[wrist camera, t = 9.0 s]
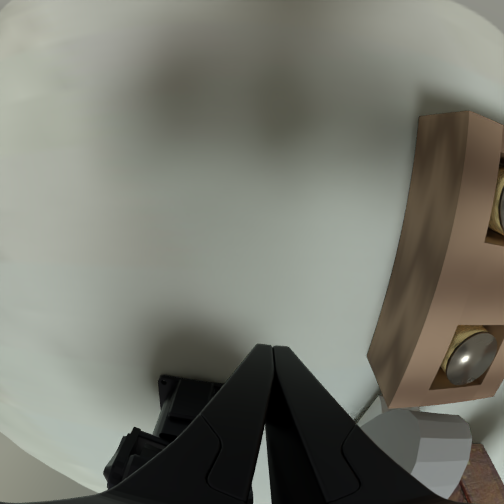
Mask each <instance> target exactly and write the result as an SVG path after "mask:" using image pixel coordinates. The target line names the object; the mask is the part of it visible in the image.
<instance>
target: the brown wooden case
mask: <svg viewBox="0 0 504 504" xmlns="http://www.w3.org/2000/svg"><path fill="white" fill-rule="evenodd" d="M448 500H452V501H456V502H465V503H476V504H504V484H503V482H502V480H501V478H500V476H499V474H498V472H497V470H496V469H495V467H494V465H493V463H492V461H491V459H490V457H489V455H488V454H487V452H486V450H485V448H484V446H483V445H482V444H472V445H471V451H470V457H469V461H468V463H467V466H466V468H465V470H464V473H463V475H462V477H461V479H460V481H459V484H458V485H457V487H456V488H455V490H454V491H453V493H452V494H451V495H450V497H449V498H448Z"/></svg>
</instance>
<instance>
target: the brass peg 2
mask: <svg viewBox="0 0 504 504" xmlns="http://www.w3.org/2000/svg"><path fill="white" fill-rule="evenodd" d="M488 228H490V229H492V230H494V231H496V232H498V233H500V234H502V235H504V167H500V166H499V169H498V176H497V183H496V189H495V195H494V200H493V206H492V211H491V215H490V220H489V225H488Z"/></svg>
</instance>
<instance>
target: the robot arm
mask: <svg viewBox="0 0 504 504" xmlns="http://www.w3.org/2000/svg"><path fill="white" fill-rule="evenodd" d="M163 380H165V381H166V382H165V381H163ZM158 386H159V397H160V407H161V412H160V415H159V418H158V421H157V424H156V426H155V429H154V432H153V435H152V434H149V433H146V432H143V431H141V429H139V428H136V427H134V428H133V430H132V432H131V434H129V433H128V435H127V436H123V438H122V440H121V442H120V445H119V447H118V449H117V451H116V453H115V454H114V456H113V457H112V459H111V460H110V461H109V463H108V464H107V465H106V467H105V469H104V472H103V475H104V477H105V478H106V480H107V482H108V483H107V488H108V490H106V491H104V492H102V493H98V494H96V495H90V496H84V497H78V498H70V499H62V500H53V501H43V502H29V503H5V502H0V504H253V491H252V480H253V476H254V472H255V467H256V463H257V458H258V454H259V449H260V445H261V440H262V435H263V431H264V426H265V430H266V442H267V454H268V466H269V477H270V489H271V501H272V504H476V503H465V502H456V501H452V500H448V499H446V498H443V497H441V496H439V495H437V494H436V493H434V492H433V491H431V490H430V489H428V488H427V487H426V486H425V485H423V484H422V483H421V482H420V481H418V480H417V479H416V478H415V477H413V476H412V475H411V474H410V473H409V472H407V471H406V470H405V469H404V468H402V467H401V466H400V465H399V464H398V463H396V462H395V461H394V460H393V459H392V458H391V457H389V456H388V455H387V454H386V453H385V452H384V451H383V450H382V449H381V448H379V447H378V446H377V445H376V444H375V443H374V442H373V441H372V439H371V438H370V437H369V436H368V435H367V434H366V433H365V432H364V431H363V430H362V429H361V428H360V427H359V426H358V425H357V424H356V423H355V421H354V420H353V419H352V418H351V417H350V416H349V415H348V414H347V413H346V411H345V410H344V409H343V408H342V407H341V406H340V405H339V404H338V402H337V401H336V400H335V399H334V398H333V397H332V396H331V395H330V393H329V392H328V391H327V390H326V389H325V388H324V387H323V386H322V384H321V383H320V382H319V381H318V380H317V379H316V378H315V376H314V375H313V374H312V373H311V372H310V371H309V370H308V368H307V367H306V366H305V365H304V364H303V363H302V362H301V360H300V359H299V358H298V357H297V356H296V355H295V353H294V352H293V351H292V350H291V349H290V348H289V347H287V346H273V347H272V346H271V345H265V344H256V345H255V347H254V348H253V349H252V350H251V352H250V353H249V354H248V355H247V357H246V358H245V359H244V360H243V362H242V363H241V364H240V365H239V367H238V368H237V369H236V370H235V371H234V373H233V374H232V375H231V376H230V378H229V379H228V380H227V381H226V382H225V384H219V383H212V382H205V381H198V380H191V379H185V378H179V377H173V376H167V375H161V376H160V377H159V379H158ZM355 424H356V425H355Z"/></svg>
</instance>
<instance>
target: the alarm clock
mask: <svg viewBox="0 0 504 504" xmlns="http://www.w3.org/2000/svg"><path fill="white" fill-rule="evenodd" d="M357 425H358V426H359V427H360V428H361V429H362V430H363V431H364V432H365V433H366V434H367V435H368V436H369V437H370V438H371V439H372V441H373V442H374V443H375V444H376V445H377V446H378V447H379V448H381V449H382V450H383V451H384V452H385V453H386V454H387V455H388V456H389V457H391V458H392V459H393V460H394V461H395V462H396V463H398V464H399V465H400V466H401V467H402V468H404V469H405V470H406V471H407V472H409V473H410V474H411V475H412V476H413V477H415V478H416V479H417V480H418V481H420V482H421V483H422V484H423V485H425V486H426V487H427V488H428V489H430V490H431V491H433V492H434V493H436V494H437V495H439V496H441V497H443V498H446V499H448V498H449V497H450V495H451V494H452V493H453V491H454V490H455V488H456V487H457V485H458V484H459V481H460V479H461V477H462V475H463V473H464V470H465V468H466V466H467V463H468V461H469V457H470V451H471V445H472V435H471V431H470V427H469V424H468V423H467V422H466V421H465V420H464V419H462V418H461V417H460V416H459V415H449V414H438V413H429V412H420V411H419V407H407V408H392V409H388V407H387V405H386V402H385V400H384V397H383V396H380V395H378V397H377V398H376V399H375V401H374V402H373V403H372V405H371V406H370V407H369V409H368V410H367V411H366V412H365V414H364V415H363V416H362V417H361V419H360V420H359V421H358V422H357Z"/></svg>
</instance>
